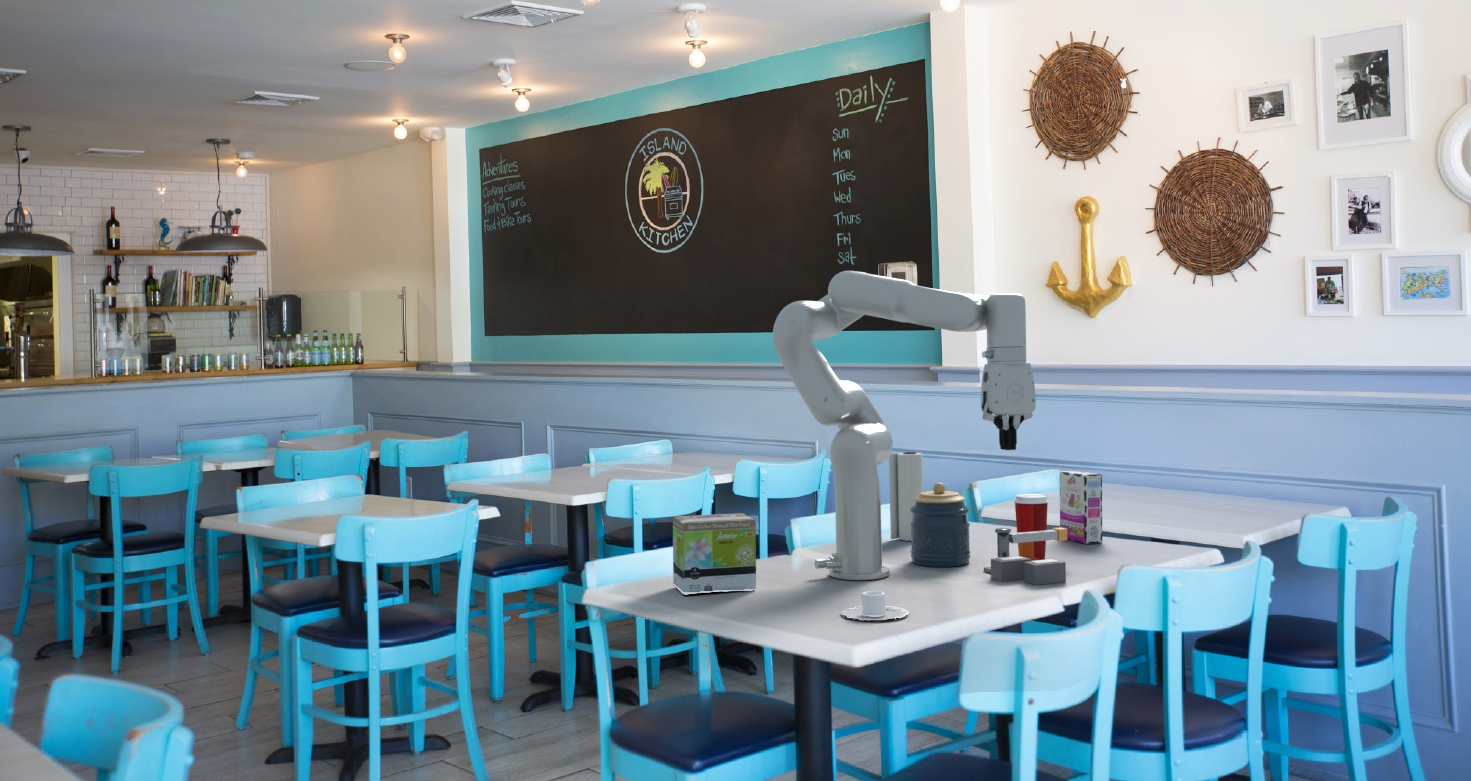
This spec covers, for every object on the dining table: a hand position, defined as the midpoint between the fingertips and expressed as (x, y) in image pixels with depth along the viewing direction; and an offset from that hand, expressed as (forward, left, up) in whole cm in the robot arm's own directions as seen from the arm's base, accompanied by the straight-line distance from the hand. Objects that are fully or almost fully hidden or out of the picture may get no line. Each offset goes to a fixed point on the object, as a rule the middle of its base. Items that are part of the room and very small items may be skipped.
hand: (1008, 449), depth 235 cm
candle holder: (-35, -11, -28) cm, 46 cm away
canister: (0, +28, -27) cm, 39 cm away
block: (+4, +6, -27) cm, 28 cm away
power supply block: (+8, 0, -27) cm, 28 cm away
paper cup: (+20, +23, -27) cm, 41 cm away
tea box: (-54, +23, -27) cm, 65 cm away
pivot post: (+6, +12, -27) cm, 30 cm away
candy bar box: (+43, +37, -27) cm, 63 cm away
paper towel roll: (+8, +58, -27) cm, 65 cm away
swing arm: (+14, +12, -21) cm, 28 cm away
